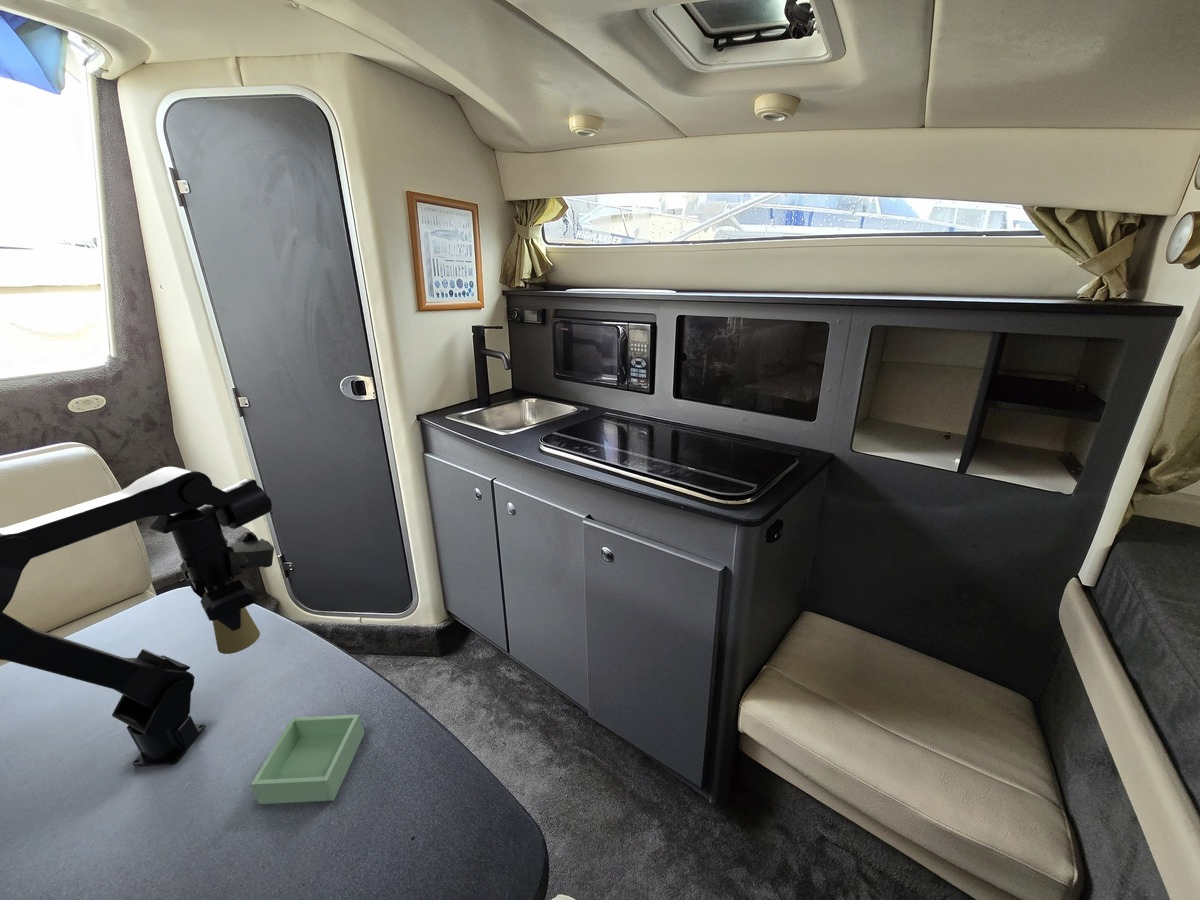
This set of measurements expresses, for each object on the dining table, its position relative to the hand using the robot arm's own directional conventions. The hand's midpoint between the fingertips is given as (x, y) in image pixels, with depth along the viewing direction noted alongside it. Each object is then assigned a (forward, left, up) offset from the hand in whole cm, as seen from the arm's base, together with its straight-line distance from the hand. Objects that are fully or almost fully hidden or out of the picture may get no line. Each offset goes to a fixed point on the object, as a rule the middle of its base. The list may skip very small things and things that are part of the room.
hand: (232, 622), depth 83 cm
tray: (+19, -17, -13) cm, 29 cm away
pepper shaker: (0, 0, -4) cm, 4 cm away
